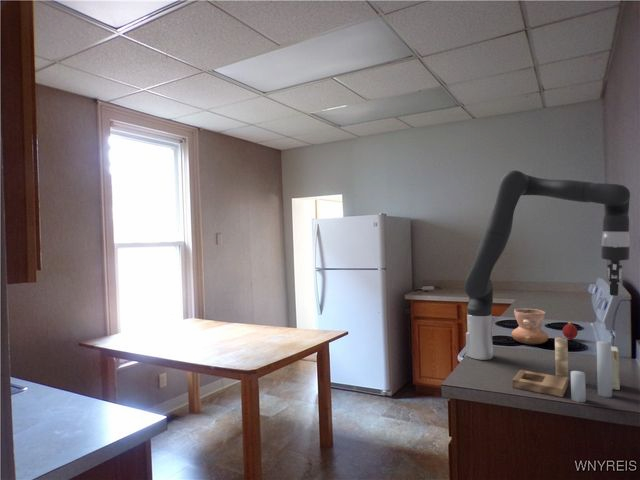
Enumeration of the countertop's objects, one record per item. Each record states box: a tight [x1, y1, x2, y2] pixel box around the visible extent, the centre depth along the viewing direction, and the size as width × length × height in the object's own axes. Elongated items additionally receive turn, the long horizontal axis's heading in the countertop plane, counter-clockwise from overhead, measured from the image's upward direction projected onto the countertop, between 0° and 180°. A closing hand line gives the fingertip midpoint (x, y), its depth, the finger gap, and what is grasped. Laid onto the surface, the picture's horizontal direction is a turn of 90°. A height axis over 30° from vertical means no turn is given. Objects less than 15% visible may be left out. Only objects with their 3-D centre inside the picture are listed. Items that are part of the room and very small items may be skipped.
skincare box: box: [611, 345, 621, 391], centre depth 128 cm, size 6×4×12 cm
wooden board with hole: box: [512, 369, 569, 398], centre depth 130 cm, size 14×11×2 cm
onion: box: [562, 321, 579, 341], centre depth 180 cm, size 6×6×8 cm
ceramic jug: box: [511, 308, 549, 345], centre depth 180 cm, size 18×14×14 cm
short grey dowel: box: [570, 370, 587, 403], centre depth 119 cm, size 4×4×8 cm
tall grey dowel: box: [596, 340, 613, 398], centre depth 122 cm, size 4×4×16 cm
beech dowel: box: [554, 337, 569, 379], centre depth 134 cm, size 4×4×14 cm
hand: (614, 293), depth 134 cm, fingers open, 8 cm apart
